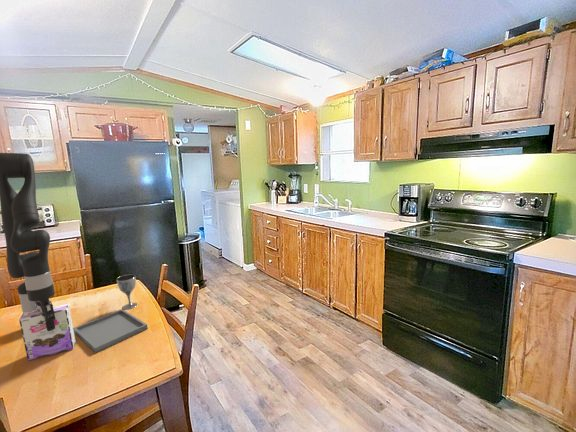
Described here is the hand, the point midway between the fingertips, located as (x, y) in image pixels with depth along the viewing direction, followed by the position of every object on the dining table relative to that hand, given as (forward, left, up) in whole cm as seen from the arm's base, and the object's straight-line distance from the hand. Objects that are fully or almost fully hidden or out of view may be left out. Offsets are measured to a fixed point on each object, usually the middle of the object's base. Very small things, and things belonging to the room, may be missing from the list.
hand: (48, 326), depth 110 cm
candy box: (0, 0, -10) cm, 10 cm away
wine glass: (-13, +34, -11) cm, 38 cm away
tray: (+3, +19, -10) cm, 22 cm away
